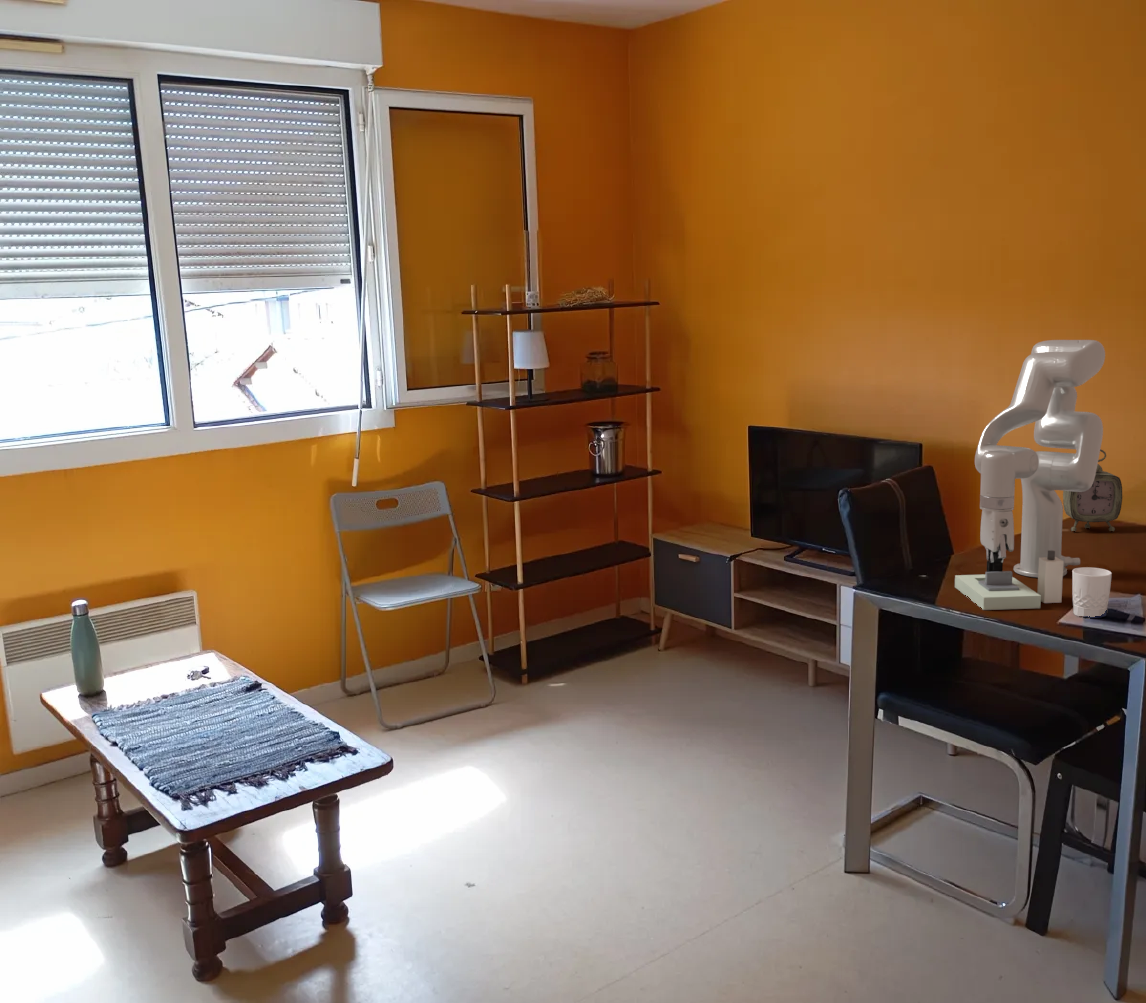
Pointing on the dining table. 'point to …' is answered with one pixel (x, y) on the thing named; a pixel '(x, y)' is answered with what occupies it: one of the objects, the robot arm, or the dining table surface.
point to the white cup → (1090, 591)
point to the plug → (1050, 578)
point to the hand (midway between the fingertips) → (994, 577)
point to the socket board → (997, 594)
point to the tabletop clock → (1095, 500)
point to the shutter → (998, 581)
